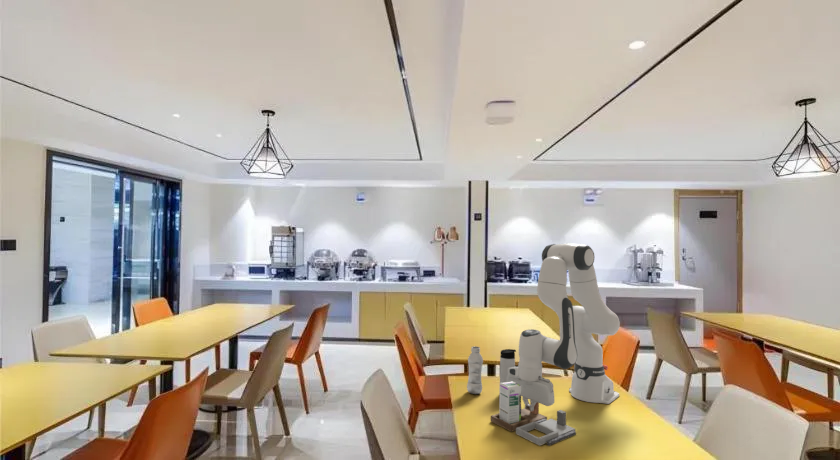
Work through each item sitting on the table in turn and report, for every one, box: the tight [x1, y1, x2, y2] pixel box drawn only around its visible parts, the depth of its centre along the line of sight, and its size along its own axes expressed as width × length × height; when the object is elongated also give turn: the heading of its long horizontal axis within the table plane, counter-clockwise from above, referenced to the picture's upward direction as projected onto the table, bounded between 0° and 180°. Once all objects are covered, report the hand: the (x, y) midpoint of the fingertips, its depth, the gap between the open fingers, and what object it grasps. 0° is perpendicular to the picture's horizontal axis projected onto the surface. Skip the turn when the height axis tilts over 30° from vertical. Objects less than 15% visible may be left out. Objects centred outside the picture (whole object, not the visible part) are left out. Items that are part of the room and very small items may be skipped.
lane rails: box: [536, 418, 577, 447], centre depth 149 cm, size 15×25×1 cm, turn 36°
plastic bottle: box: [466, 345, 484, 395], centre depth 181 cm, size 6×7×20 cm
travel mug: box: [499, 348, 517, 384], centre depth 179 cm, size 6×7×20 cm
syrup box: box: [498, 381, 522, 424], centre depth 150 cm, size 6×6×14 cm
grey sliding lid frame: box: [515, 409, 576, 447], centre depth 144 cm, size 20×10×5 cm, turn 126°
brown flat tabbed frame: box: [490, 402, 548, 432], centre depth 153 cm, size 20×10×5 cm, turn 126°
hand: (529, 409), depth 157 cm, fingers closed
